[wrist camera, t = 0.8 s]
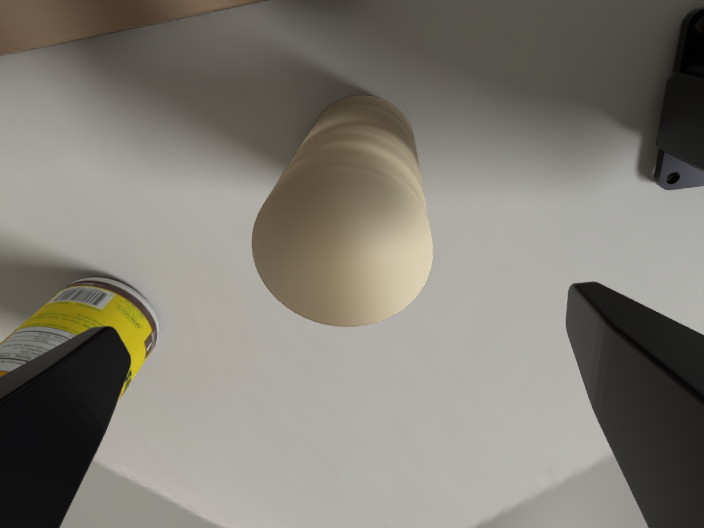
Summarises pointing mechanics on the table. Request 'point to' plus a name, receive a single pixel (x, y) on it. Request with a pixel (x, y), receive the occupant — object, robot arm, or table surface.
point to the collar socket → (89, 18)
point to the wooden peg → (347, 219)
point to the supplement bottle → (85, 323)
